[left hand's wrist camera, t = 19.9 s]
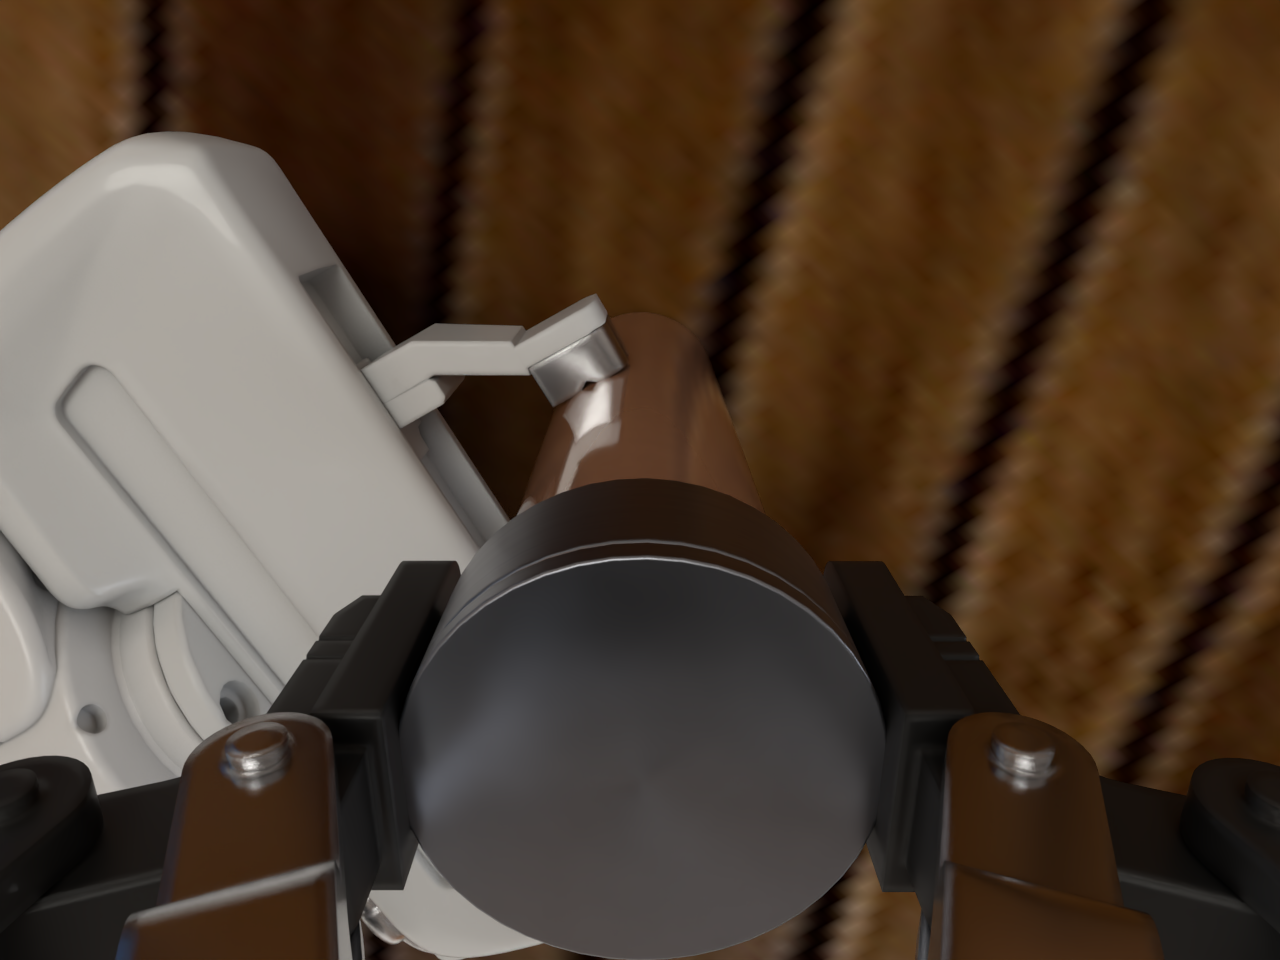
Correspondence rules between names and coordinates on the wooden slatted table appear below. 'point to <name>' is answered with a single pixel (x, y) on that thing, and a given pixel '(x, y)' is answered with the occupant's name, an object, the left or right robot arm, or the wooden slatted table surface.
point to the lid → (642, 725)
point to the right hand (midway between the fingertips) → (676, 439)
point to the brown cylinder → (646, 421)
